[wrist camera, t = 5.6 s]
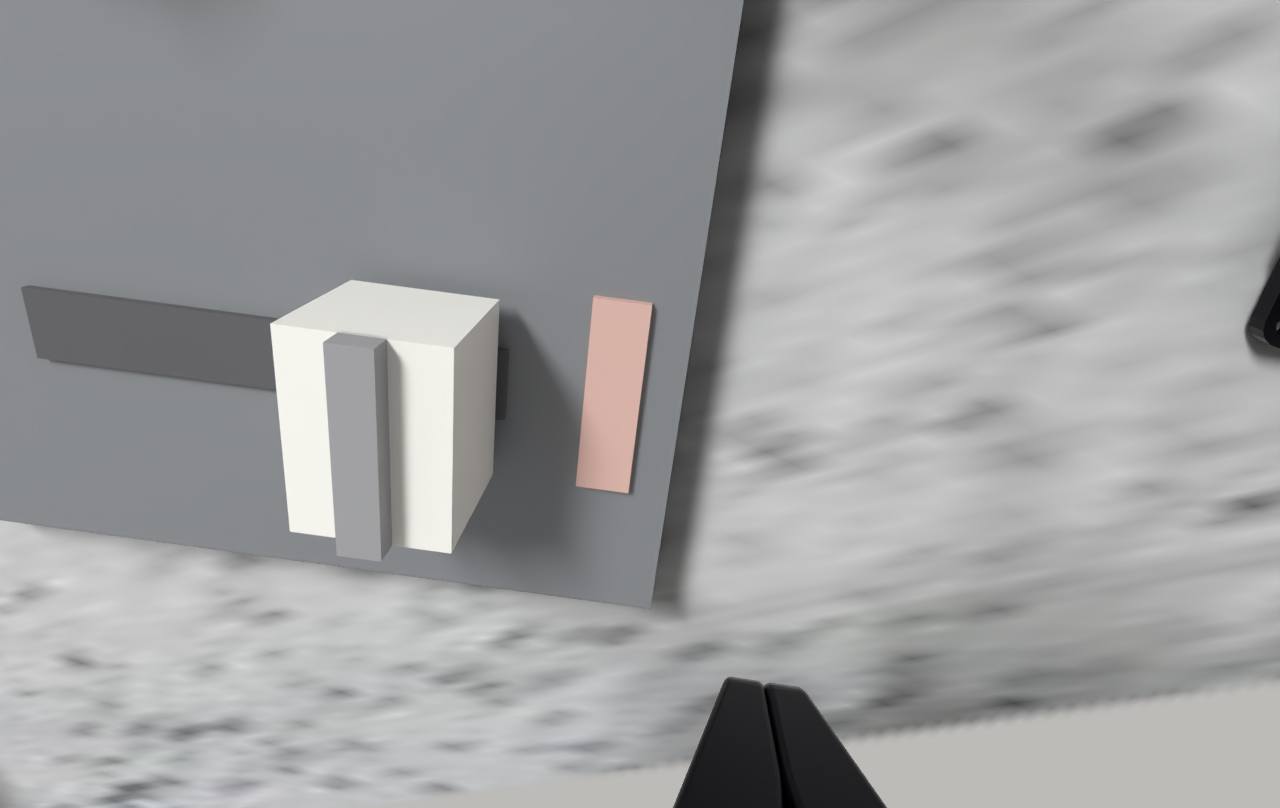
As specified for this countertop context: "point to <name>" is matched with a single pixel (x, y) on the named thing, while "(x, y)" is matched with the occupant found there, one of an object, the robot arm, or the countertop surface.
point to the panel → (354, 255)
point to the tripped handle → (386, 415)
